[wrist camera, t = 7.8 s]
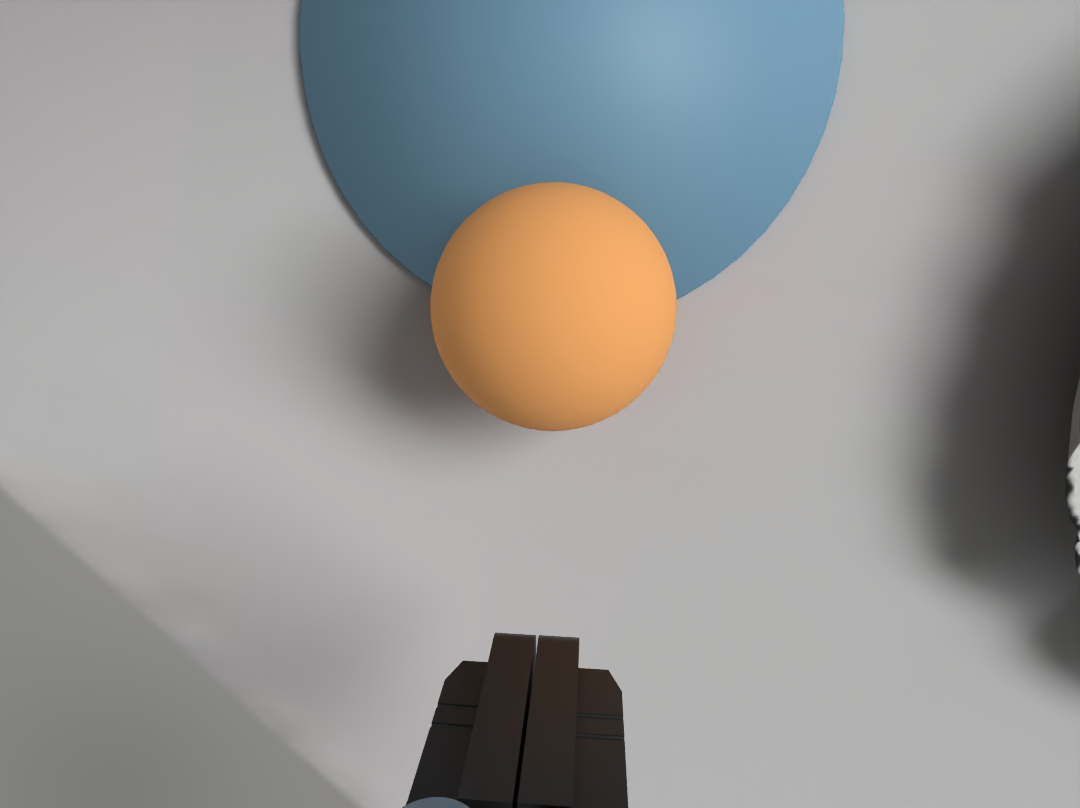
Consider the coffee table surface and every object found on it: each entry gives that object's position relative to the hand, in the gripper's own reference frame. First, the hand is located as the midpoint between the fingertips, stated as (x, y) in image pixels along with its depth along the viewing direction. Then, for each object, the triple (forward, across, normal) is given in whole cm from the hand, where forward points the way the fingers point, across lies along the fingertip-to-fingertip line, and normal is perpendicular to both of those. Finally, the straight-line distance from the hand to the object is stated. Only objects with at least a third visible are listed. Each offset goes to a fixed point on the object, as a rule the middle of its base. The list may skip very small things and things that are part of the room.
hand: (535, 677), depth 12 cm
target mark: (+8, 0, -11) cm, 14 cm away
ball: (+5, 0, -6) cm, 8 cm away
